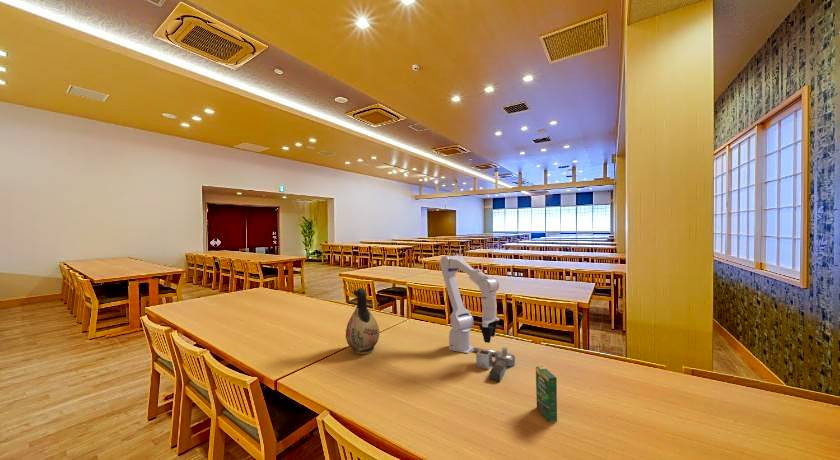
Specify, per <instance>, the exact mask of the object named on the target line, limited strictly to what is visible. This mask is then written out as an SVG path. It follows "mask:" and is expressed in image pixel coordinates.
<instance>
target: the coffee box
mask: <svg viewBox="0 0 840 460" xmlns="http://www.w3.org/2000/svg"><path fill="white" fill-rule="evenodd" d="M557 380H558V379H557V376H555V374H553V373H552V372H551V371H550V370H548V369H547V368H546V367H545V366H539V365H538V366H535V388H536V391H535V393H536V408H537V409H538V410H539V412H540V413H541V414H542V415H543V416H544V418H545V420H546V421H548V423H556V422H558V400H557V399H558V397H557V396H558V395H557V392H558V389H557V386H558V385H557Z"/></svg>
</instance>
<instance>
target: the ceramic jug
mask: <svg viewBox="0 0 840 460" xmlns="http://www.w3.org/2000/svg"><path fill="white" fill-rule="evenodd" d="M353 296H355V297H356V300H357V304H356V307H355V309H354V311H353V313H352V314H351V317H350V318H349V320H348V322H347V325H346V329H345V340H346V343H347V345H348V346H349V347H350V348H351V349H352V350H353V352H354V354H356V355H368V354H369V353H372V352H374V349H375V346H376V344H377V343H378V341H379V338H380V327H379V324H378V322H377V320H376V318H375V316H374V315H373V314H372V312H370V310H369V309H368V308H367V307H368V306H367V303H368V302H367V300H368V299H367V293H366V291H365V288H363V287H358V289H354V290H353Z"/></svg>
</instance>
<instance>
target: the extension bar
mask: <svg viewBox="0 0 840 460" xmlns="http://www.w3.org/2000/svg"><path fill="white" fill-rule="evenodd" d="M480 349H483V350H488V351H492V356H495V354H497V353H500V352H502V350H501V351H500V350H491V349H485V348H481V347H474V346H473V348H472V351H473V352H476V353H477V352H478V351H479V350H480Z"/></svg>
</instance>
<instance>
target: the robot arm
mask: <svg viewBox="0 0 840 460" xmlns="http://www.w3.org/2000/svg"><path fill="white" fill-rule="evenodd" d="M439 267H440V270H441V274H442V277H443V281H444V284H445V287H446V290H447V294H448V297H449V298H448V299H449V301H450V305H451V308H452V312H451V313H450V315H449V318H450V327H451V329H450V331H449V334H448V350H449V351H454V352H458V353H465V354H468V353H470V352H471V350H473V348H474V346H473V345H471V330H472V327H473V326H474V324H475V323H474V317H473V316H472V315H471V312H470V310H469V309H468V308H465V305H464V303H463V299H462V296H461V293H460V288H459V286H458V283H457V280H456V277H455V276H456V274H457V273H458V272H459V270H460V271H462V272H463V273H465V274H466V275H468V276H469V277H468V278H469V279H470V281H471V282H473V283H475V284H476V285H477V286H478V288H479V291H480V295H481V297H482V298H481V302H482V304H481V305H482V307H481V309H482V316H481V319H482V320H481V321H482V323H481V324H479V326H478V327H479V329H480V331H481V333H482V337H483V341H484V343H488V344H490V343H491V338H492V337H493V338H494V337H495V335H496V330H497V325H498V324H499V321H500V318H499V317H497V291H498V290H499V288H500V284H499V281H498V280H497V279H496V278H495V277H490V276H489V275H488V274H485V273H484V272H483V271H482V270H481V268H473V266H471V265H470V264H469V263H467V262H466V261H465V260H464V257H463V256H461V255H459V254H455V255H443V256H442V257H441V259H440V260H439Z"/></svg>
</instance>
